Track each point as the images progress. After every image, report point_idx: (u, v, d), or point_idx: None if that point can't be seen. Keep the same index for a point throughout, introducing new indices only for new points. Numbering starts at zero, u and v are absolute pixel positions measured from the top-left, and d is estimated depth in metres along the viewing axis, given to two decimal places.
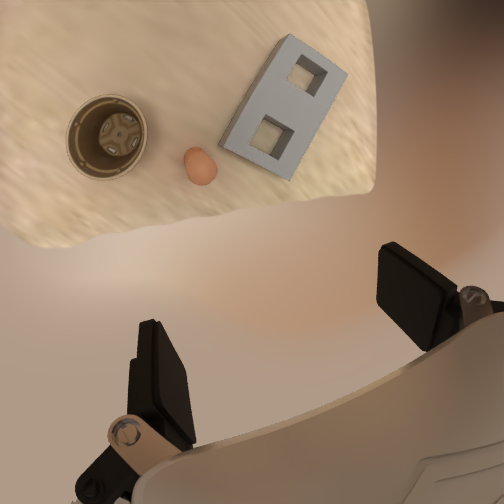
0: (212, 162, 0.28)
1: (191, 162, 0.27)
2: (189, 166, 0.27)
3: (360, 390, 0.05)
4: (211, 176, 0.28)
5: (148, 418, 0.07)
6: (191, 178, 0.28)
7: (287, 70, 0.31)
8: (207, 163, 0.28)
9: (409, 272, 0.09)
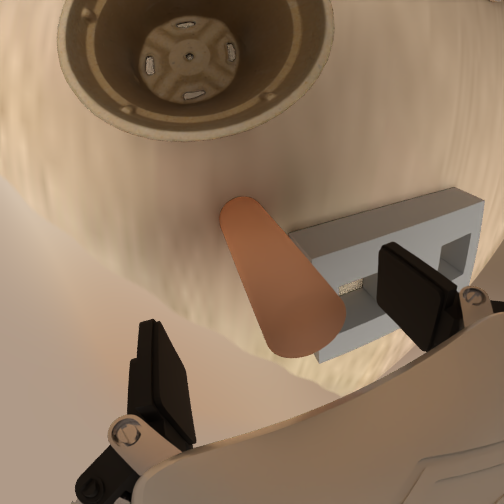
0: (338, 327, 0.10)
1: (313, 294, 0.09)
2: (301, 299, 0.09)
3: (360, 390, 0.05)
4: (306, 349, 0.10)
5: (148, 418, 0.07)
6: (273, 325, 0.09)
7: (451, 237, 0.20)
8: (330, 322, 0.10)
9: (409, 272, 0.09)
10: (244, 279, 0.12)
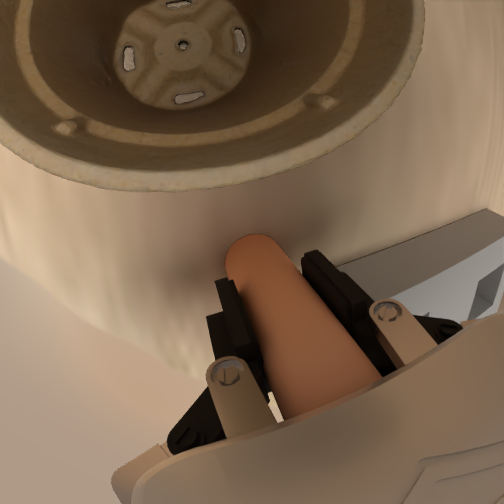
0: None
1: None
2: None
3: (360, 390, 0.05)
4: None
5: (242, 360, 0.08)
6: None
7: (488, 270, 0.16)
8: None
9: (322, 282, 0.10)
10: (271, 379, 0.08)
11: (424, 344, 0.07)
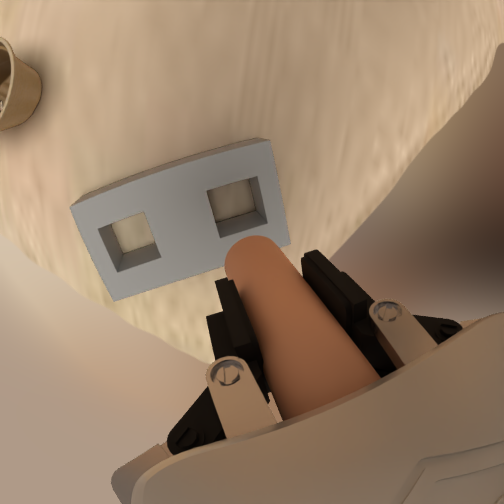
0: None
1: None
2: None
3: (360, 390, 0.05)
4: None
5: (242, 359, 0.08)
6: None
7: (218, 182, 0.24)
8: None
9: (322, 282, 0.10)
10: (270, 380, 0.08)
11: (424, 344, 0.07)
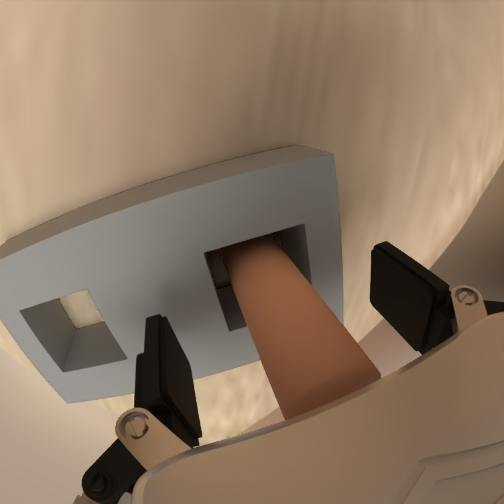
0: None
1: (347, 372, 0.07)
2: (332, 379, 0.07)
3: (360, 390, 0.05)
4: None
5: (155, 411, 0.07)
6: (296, 408, 0.07)
7: (229, 235, 0.12)
8: None
9: (401, 272, 0.10)
10: (254, 337, 0.10)
11: None
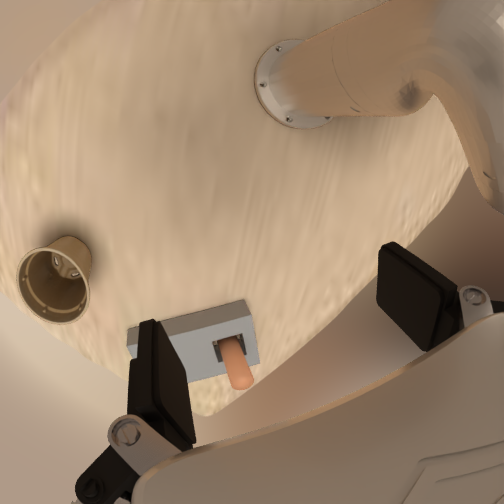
0: (252, 382, 0.35)
1: (243, 375, 0.34)
2: (240, 376, 0.34)
3: (360, 390, 0.05)
4: (243, 388, 0.35)
5: (148, 418, 0.07)
6: (233, 382, 0.34)
7: (219, 337, 0.39)
8: (249, 381, 0.35)
9: (409, 272, 0.09)
10: (225, 366, 0.37)
11: None
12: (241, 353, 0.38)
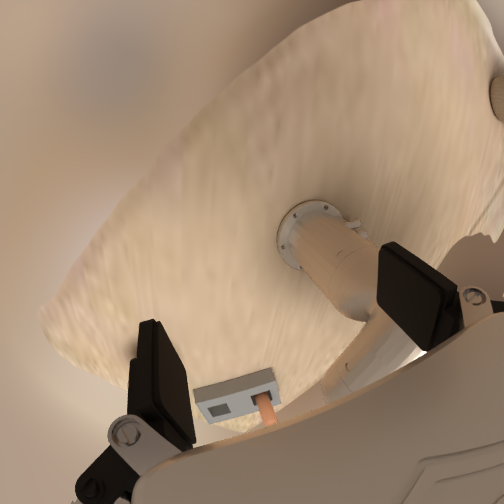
0: (276, 421, 0.54)
1: (271, 419, 0.53)
2: (269, 419, 0.53)
3: (360, 390, 0.05)
4: (271, 424, 0.54)
5: (148, 418, 0.07)
6: (265, 422, 0.53)
7: (255, 393, 0.58)
8: (275, 421, 0.53)
9: (409, 272, 0.09)
10: None
11: None
12: (269, 403, 0.57)
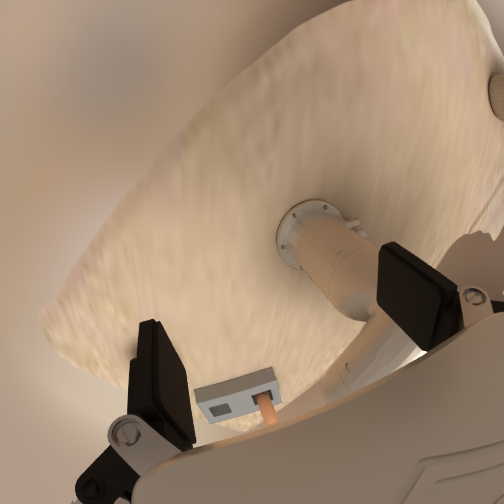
0: (277, 421, 0.54)
1: (272, 418, 0.53)
2: (270, 419, 0.53)
3: (360, 390, 0.05)
4: (272, 424, 0.54)
5: (148, 418, 0.07)
6: (266, 422, 0.53)
7: (256, 393, 0.58)
8: (275, 420, 0.54)
9: (409, 272, 0.09)
10: None
11: None
12: (270, 402, 0.57)
